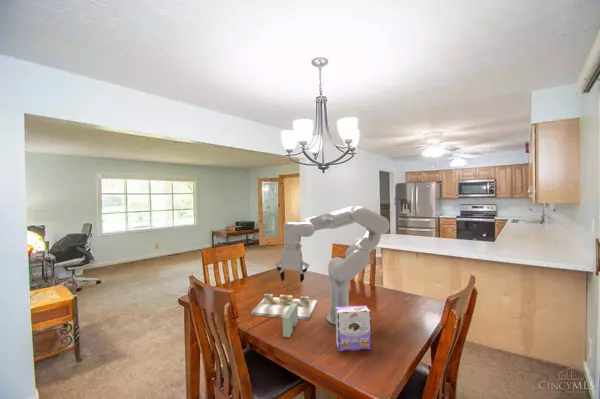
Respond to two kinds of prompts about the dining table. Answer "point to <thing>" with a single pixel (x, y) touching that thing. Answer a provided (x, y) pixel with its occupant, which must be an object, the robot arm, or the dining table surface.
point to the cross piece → (290, 319)
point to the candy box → (353, 328)
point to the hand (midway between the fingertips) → (292, 280)
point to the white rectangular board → (284, 306)
